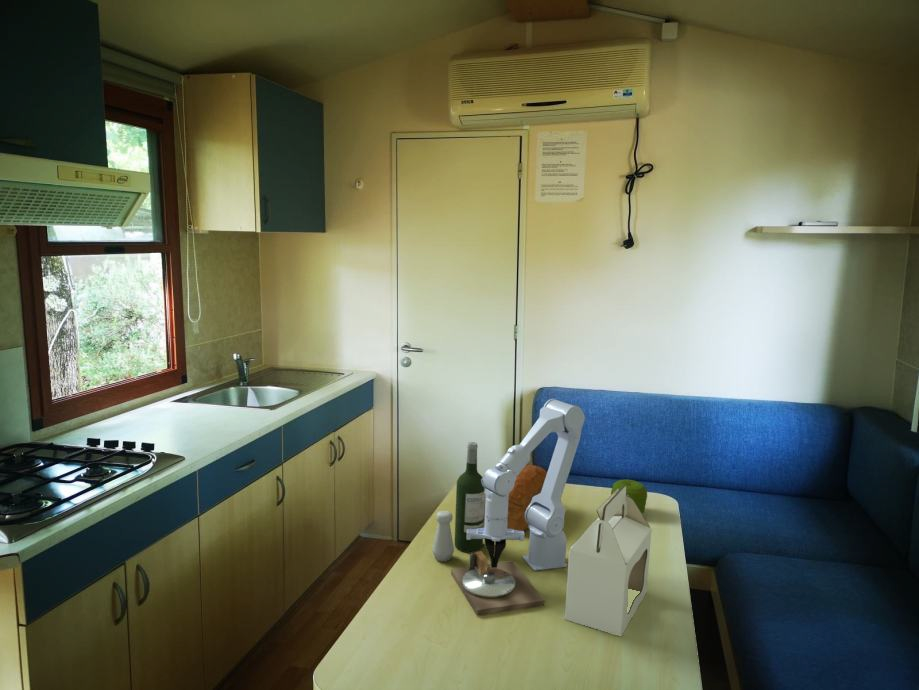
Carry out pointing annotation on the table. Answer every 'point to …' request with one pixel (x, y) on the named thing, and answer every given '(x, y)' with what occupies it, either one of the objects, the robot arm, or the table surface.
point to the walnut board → (516, 600)
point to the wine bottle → (469, 503)
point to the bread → (523, 495)
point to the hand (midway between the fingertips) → (493, 565)
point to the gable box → (609, 566)
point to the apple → (633, 492)
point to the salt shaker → (443, 537)
